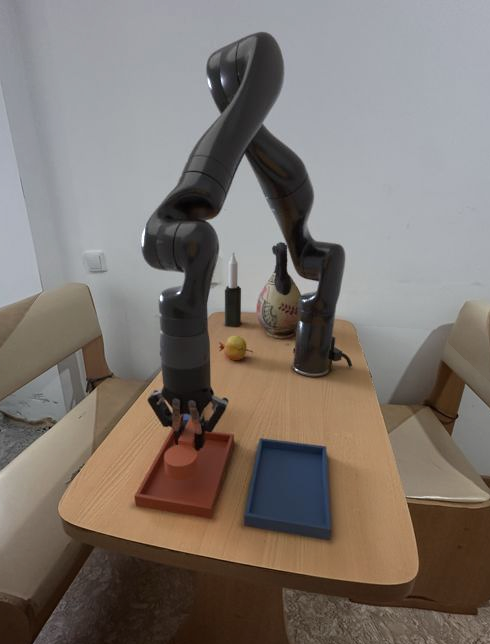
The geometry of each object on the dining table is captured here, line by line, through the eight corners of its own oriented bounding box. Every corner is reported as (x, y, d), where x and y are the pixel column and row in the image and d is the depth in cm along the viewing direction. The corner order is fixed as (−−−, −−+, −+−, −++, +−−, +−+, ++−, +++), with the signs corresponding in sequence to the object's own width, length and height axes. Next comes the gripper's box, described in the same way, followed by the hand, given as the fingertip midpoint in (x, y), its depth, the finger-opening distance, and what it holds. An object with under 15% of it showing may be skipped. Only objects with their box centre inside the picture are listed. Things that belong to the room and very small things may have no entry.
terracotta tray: (173, 435, 74) (173, 426, 74) (233, 442, 72) (233, 434, 71) (135, 506, 58) (134, 495, 57) (211, 519, 56) (211, 508, 55)
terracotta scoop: (185, 428, 70) (184, 412, 68) (212, 431, 69) (212, 415, 67) (160, 477, 58) (158, 459, 57) (192, 482, 57) (191, 464, 56)
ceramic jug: (254, 325, 131) (257, 237, 119) (298, 325, 131) (305, 237, 118) (256, 344, 116) (259, 245, 103) (306, 345, 115) (315, 245, 103)
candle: (238, 327, 129) (239, 254, 119) (224, 326, 130) (223, 253, 120) (241, 322, 134) (242, 251, 123) (227, 321, 135) (227, 250, 124)
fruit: (256, 336, 106) (222, 332, 109) (251, 339, 100) (215, 335, 102) (253, 359, 108) (220, 355, 110) (248, 364, 101) (213, 359, 104)
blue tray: (259, 446, 71) (259, 437, 70) (325, 455, 69) (326, 446, 68) (244, 525, 55) (244, 515, 54) (329, 540, 53) (331, 529, 52)
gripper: (234, 349, 59) (233, 438, 66) (152, 342, 62) (160, 428, 69) (224, 371, 52) (225, 467, 59) (132, 362, 55) (143, 455, 62)
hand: (190, 446), depth 64 cm, fingers closed on terracotta scoop, 2 cm apart
